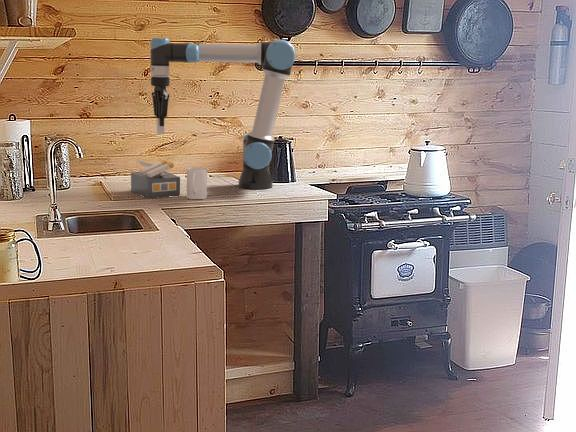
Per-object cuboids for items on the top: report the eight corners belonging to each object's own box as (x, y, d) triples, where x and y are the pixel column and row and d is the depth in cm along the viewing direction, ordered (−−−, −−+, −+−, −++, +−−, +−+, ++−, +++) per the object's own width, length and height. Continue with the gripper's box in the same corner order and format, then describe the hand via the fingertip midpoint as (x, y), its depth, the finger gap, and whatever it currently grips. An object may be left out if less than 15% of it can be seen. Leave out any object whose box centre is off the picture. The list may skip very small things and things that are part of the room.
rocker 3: (170, 165, 313) (169, 162, 312) (174, 166, 310) (172, 163, 309) (147, 176, 308) (146, 172, 307) (150, 177, 305) (149, 173, 305)
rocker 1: (159, 169, 323) (160, 165, 323) (162, 170, 321) (163, 166, 321) (136, 163, 317) (137, 159, 317) (139, 164, 314) (140, 160, 314)
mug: (201, 202, 303) (201, 172, 300) (180, 200, 305) (180, 170, 302) (209, 196, 314) (210, 167, 312) (189, 195, 316) (190, 166, 313)
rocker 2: (164, 163, 318) (163, 159, 317) (168, 164, 315) (166, 161, 314) (141, 173, 313) (140, 170, 312) (144, 175, 310) (143, 171, 310)
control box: (162, 188, 327) (162, 165, 325) (180, 196, 312) (180, 172, 310) (131, 191, 320) (130, 167, 318) (148, 199, 305) (148, 174, 303)
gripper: (145, 75, 317) (146, 132, 322) (158, 77, 306) (158, 135, 311) (162, 75, 321) (162, 131, 326) (175, 77, 310) (175, 135, 315)
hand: (160, 133), depth 318 cm, fingers closed
